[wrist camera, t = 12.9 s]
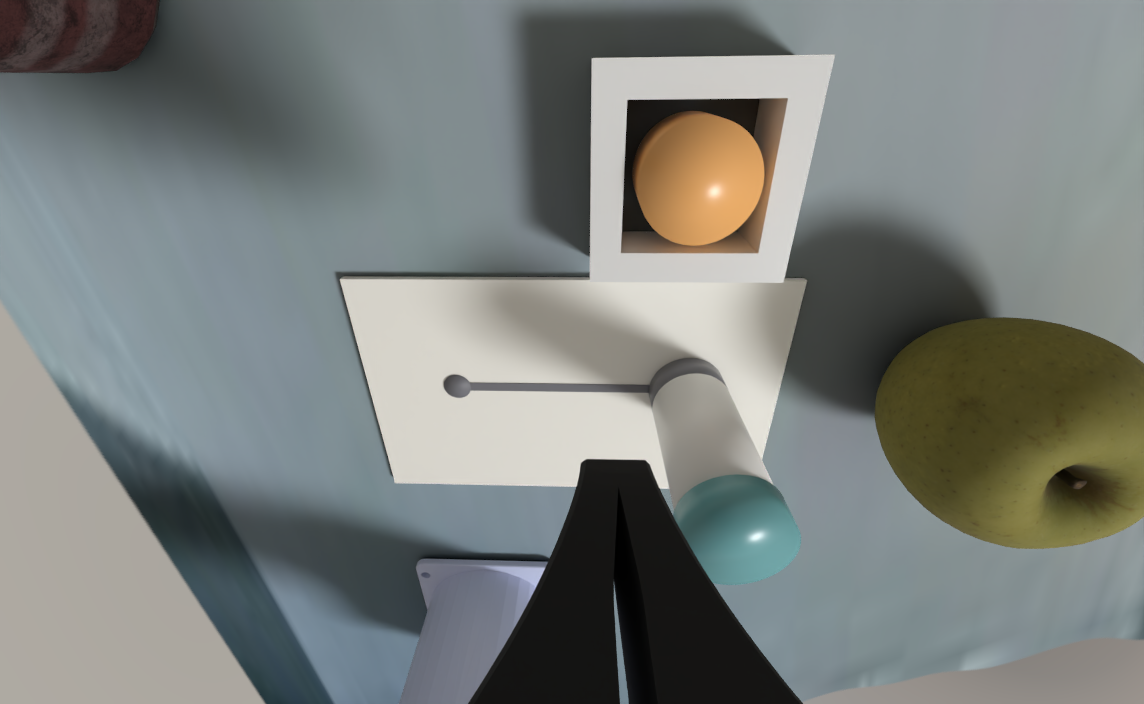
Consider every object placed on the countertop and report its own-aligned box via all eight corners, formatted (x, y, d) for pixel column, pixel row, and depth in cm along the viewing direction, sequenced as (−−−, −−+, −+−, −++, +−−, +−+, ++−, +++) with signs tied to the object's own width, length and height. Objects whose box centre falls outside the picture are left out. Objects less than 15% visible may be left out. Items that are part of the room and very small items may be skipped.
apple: (1008, 242, 17) (1240, 334, 11) (1058, 388, 20) (1262, 524, 14) (810, 349, 20) (908, 473, 14) (880, 465, 23) (987, 610, 17)
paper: (752, 485, 24) (754, 491, 23) (397, 478, 24) (394, 483, 24) (803, 278, 18) (807, 281, 18) (343, 276, 19) (339, 279, 19)
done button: (731, 223, 17) (752, 246, 15) (629, 223, 17) (634, 245, 15) (749, 110, 15) (775, 115, 13) (635, 111, 15) (642, 116, 13)
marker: (719, 420, 21) (786, 584, 14) (643, 420, 21) (674, 584, 15) (731, 355, 20) (814, 506, 13) (649, 355, 20) (687, 506, 13)
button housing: (760, 257, 18) (783, 282, 16) (590, 257, 18) (589, 282, 16) (799, 57, 15) (835, 54, 12) (591, 60, 15) (591, 57, 13)
